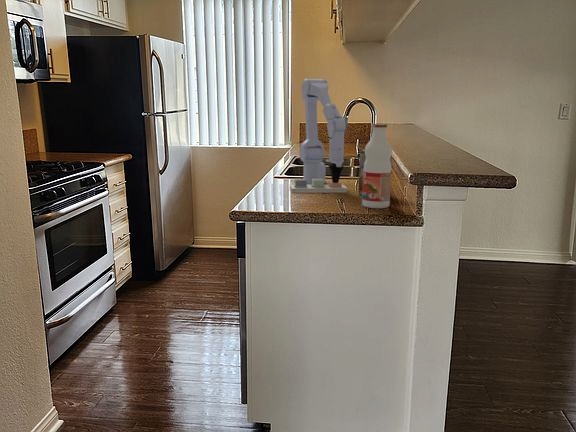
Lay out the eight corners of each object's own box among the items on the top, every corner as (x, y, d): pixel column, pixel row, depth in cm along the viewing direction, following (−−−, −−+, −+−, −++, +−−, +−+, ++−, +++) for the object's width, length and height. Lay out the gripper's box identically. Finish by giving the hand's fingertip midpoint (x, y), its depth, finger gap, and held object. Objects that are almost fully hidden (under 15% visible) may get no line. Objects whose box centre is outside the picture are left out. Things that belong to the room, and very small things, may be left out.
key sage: (322, 184, 210) (322, 178, 209) (324, 186, 205) (324, 180, 205) (311, 184, 209) (312, 178, 209) (313, 186, 205) (313, 180, 204)
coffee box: (385, 194, 200) (387, 153, 197) (380, 197, 195) (382, 154, 191) (363, 192, 205) (364, 151, 201) (357, 194, 199) (359, 153, 195)
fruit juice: (392, 208, 174) (397, 124, 168) (365, 209, 173) (369, 124, 167) (385, 203, 183) (389, 123, 177) (359, 203, 182) (362, 123, 176)
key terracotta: (339, 187, 210) (339, 181, 210) (341, 189, 206) (341, 183, 206) (328, 187, 210) (329, 181, 210) (330, 189, 206) (330, 183, 205)
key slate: (305, 184, 209) (305, 178, 208) (306, 186, 205) (306, 180, 204) (294, 184, 209) (294, 178, 208) (295, 186, 204) (295, 180, 204)
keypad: (342, 188, 213) (342, 184, 213) (347, 192, 204) (347, 188, 203) (289, 188, 212) (289, 184, 211) (291, 192, 202) (291, 188, 202)
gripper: (323, 147, 211) (322, 180, 214) (329, 150, 197) (328, 185, 200) (340, 147, 212) (339, 179, 215) (347, 150, 198) (346, 185, 201)
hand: (335, 182), depth 208 cm, fingers closed, pressing on key terracotta
